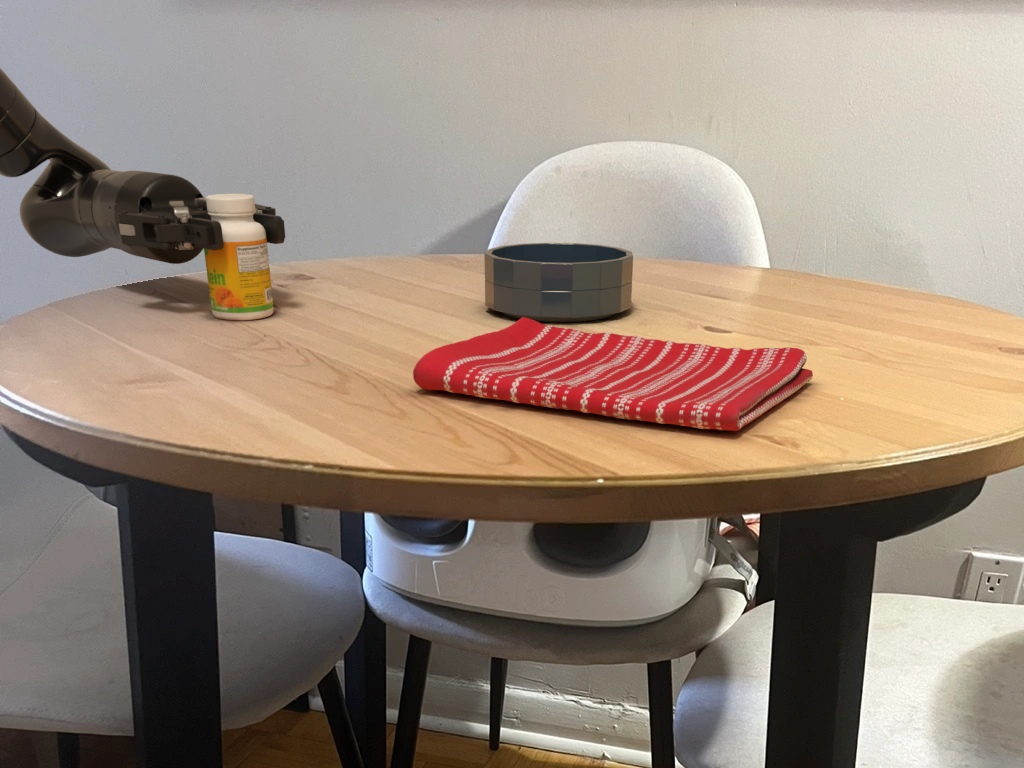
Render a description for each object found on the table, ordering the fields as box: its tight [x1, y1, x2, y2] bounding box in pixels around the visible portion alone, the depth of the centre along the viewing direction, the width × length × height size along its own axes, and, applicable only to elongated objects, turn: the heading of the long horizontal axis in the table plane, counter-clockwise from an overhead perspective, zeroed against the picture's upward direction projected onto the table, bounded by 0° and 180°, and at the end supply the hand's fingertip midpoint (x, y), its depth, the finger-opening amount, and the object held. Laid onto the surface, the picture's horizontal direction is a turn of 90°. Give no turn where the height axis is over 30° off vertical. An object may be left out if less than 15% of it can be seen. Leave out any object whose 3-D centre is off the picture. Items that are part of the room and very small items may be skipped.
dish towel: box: [412, 317, 814, 432], centre depth 80 cm, size 17×24×3 cm
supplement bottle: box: [203, 193, 275, 321], centre depth 100 cm, size 5×5×10 cm
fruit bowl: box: [484, 242, 634, 323], centre depth 104 cm, size 13×13×5 cm
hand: (250, 233), depth 98 cm, fingers closed on supplement bottle, 5 cm apart
